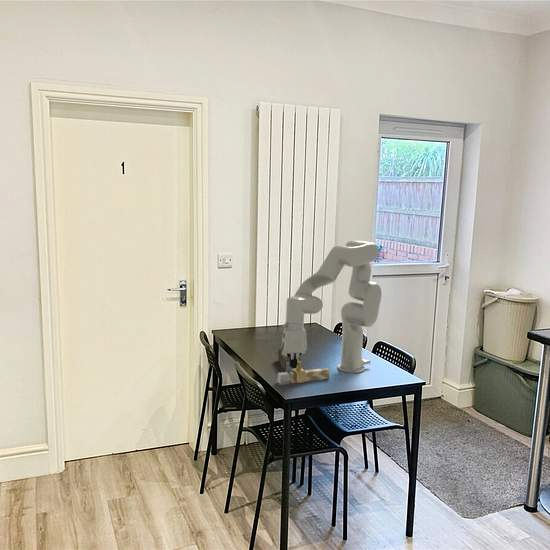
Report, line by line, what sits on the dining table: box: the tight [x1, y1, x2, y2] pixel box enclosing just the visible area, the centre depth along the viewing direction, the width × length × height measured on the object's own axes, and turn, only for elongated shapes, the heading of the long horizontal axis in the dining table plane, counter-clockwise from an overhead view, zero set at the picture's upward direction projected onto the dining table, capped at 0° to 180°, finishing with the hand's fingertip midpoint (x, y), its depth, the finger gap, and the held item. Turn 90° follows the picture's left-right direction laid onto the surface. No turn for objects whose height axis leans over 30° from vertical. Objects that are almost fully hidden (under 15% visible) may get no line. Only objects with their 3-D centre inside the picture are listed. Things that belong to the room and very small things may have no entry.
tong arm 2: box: [290, 368, 330, 384], centre depth 237 cm, size 18×1×4 cm, turn 113°
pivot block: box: [277, 371, 290, 386], centre depth 233 cm, size 4×3×4 cm
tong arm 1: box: [289, 367, 329, 383], centre depth 239 cm, size 18×1×4 cm, turn 112°
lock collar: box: [292, 361, 306, 384], centre depth 236 cm, size 4×5×9 cm
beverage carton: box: [277, 348, 303, 374], centre depth 256 cm, size 8×19×7 cm, turn 10°
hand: (293, 367), depth 234 cm, fingers closed
